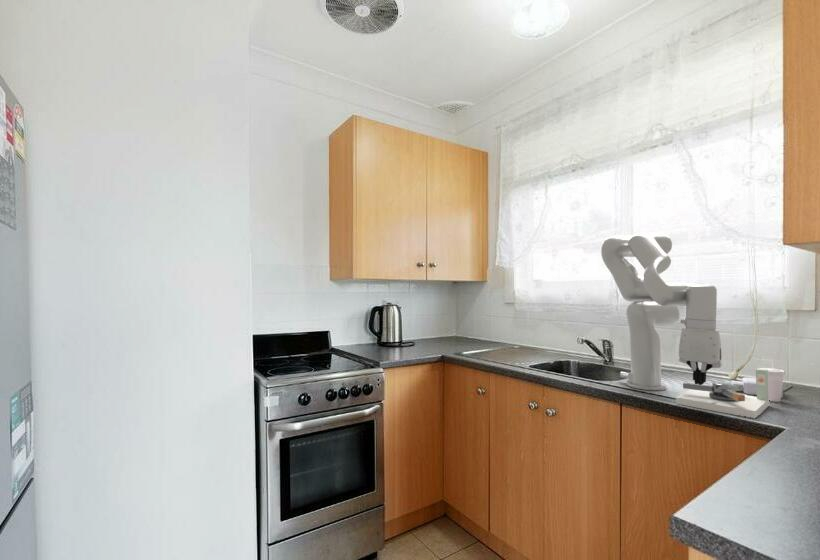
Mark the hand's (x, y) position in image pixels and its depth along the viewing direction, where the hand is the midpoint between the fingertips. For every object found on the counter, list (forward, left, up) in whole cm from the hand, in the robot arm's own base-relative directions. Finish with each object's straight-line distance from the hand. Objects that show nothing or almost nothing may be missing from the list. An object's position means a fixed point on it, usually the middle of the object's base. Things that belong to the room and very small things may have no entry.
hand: (699, 383), depth 122 cm
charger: (+7, +31, -7) cm, 32 cm away
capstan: (+6, +3, -4) cm, 8 cm away
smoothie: (+13, +24, -7) cm, 28 cm away
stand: (+4, +6, -7) cm, 10 cm away
